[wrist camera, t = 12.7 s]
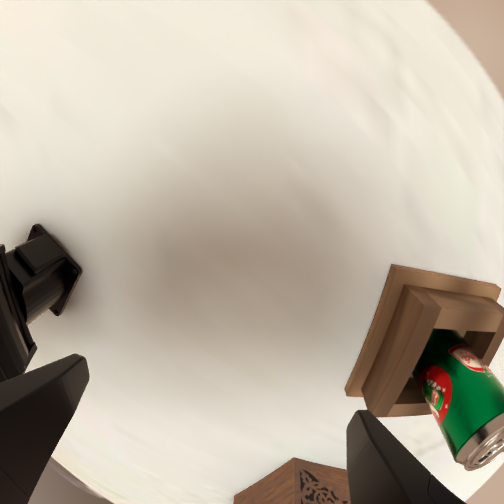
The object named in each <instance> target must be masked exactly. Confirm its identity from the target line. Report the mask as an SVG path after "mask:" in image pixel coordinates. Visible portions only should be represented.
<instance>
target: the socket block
mask: <svg viewBox="0 0 504 504" xmlns="http://www.w3.org/2000/svg"><path fill="white" fill-rule="evenodd" d="M500 291H501V288H500V287H499V286H497V285H496V284H491V283H486V282H481V281H476V280H471V279H466V278H461V277H456V276H451V275H446V274H440V273H435V272H430V271H425V270H420V269H414V268H409V267H404V266H399V265H393V264H392V265H391V268H390V272H389V275H388V278H387V281H386V284H385V288H384V291H383V294H382V297H381V300H380V303H379V305H378V308H377V311H376V314H375V317H374V320H373V322H372V325H371V328H370V330H369V333H368V336H367V338H366V341H365V343H364V346H363V348H362V351H361V353H360V355H359V358H358V360H357V363H356V365H355V367H354V370H353V372H352V374H351V376H350V379H349V381H348V383H347V385H346V387H345V392H346V396H349V397H364V400H365V403H366V406H367V410H369V411H370V412H371V413H372V414H373V415H374V416H375V417H401V416H417V415H429V414H432V412H431V410H430V408H429V406H428V404H427V402H426V400H425V398H424V396H423V394H422V392H421V390H420V388H419V386H418V385H417V383H416V381H415V379H414V377H413V375H412V372H413V370H414V368H415V366H416V364H417V362H418V360H419V358H420V356H421V354H422V352H423V350H424V348H425V346H426V344H427V341H428V339H429V337H430V335H431V333H432V330H433V328H438V329H451V330H456V331H457V332H458V333H459V334H460V335H461V336H462V337H463V339H464V340H465V341H466V342H467V343H468V344H469V345H470V347H471V348H472V349H473V350H474V351H475V352H476V353H477V355H478V356H479V357H480V358H481V359H482V361H483V362H484V363H485V364H486V365H487V367H488V366H489V365H490V363H491V361H492V359H493V357H494V355H495V354H496V352H497V350H498V348H499V346H500V344H501V342H502V340H503V338H504V308H503V307H502V306H501V305H499V304H498V303H497V299H498V297H499V294H500Z"/></svg>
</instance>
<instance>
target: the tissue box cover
mask: <svg viewBox="0 0 504 504" xmlns="http://www.w3.org/2000/svg"><path fill="white" fill-rule="evenodd" d="M233 504H351V503H350V494H349V485H348V476H347V470H345V469H340V468H335V467H330V466H326V465H321V464H317V463H313V462H309V461H305V460H302V459H298V458H292V459H291V460H290V461H288V462H287V463H285V464H284V465H282V466H281V467H280V468H278V469H277V470H275V471H274V472H272V473H271V474H269V475H268V476H266V477H264V478H263V479H261V480H260V481H258V482H257V483H255V484H253V485H252V486H250V487H248V488H247V489H245V490H243V491H242V492H240V493H238V494H236V495H235V496H234V503H233Z"/></svg>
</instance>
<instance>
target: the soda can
mask: <svg viewBox="0 0 504 504" xmlns="http://www.w3.org/2000/svg"><path fill="white" fill-rule="evenodd" d="M412 375H413V377H414V379H415V381H416V383H417V385H418V386H419V388H420V390H421V392H422V394H423V396H424V398H425V400H426V402H427V404H428V406H429V408H430V410H431V412H432V414H433V416H434V418H435V420H436V422H437V424H438V426H439V428H440V430H441V432H442V434H443V436H444V438H445V440H446V443H447V445H448V447H449V449H450V451H451V453H452V456H453V458H454V460H455V462H457V463H459V464H462V465H464V467H465V469H466V470H467V471H472V470H476V469H478V468H481V467H483V466H485V465H486V464H488V463H490V462H491V461H493V460H494V459H496V458H497V457H498V456H499V455H501V454H502V453H503V452H504V387H503V385H502V384H501V383H500V382H499V380H498V379H497V378H496V377H495V375H494V374H493V373H492V372H491V370H490V369H489V368H488V367H487V365H486V364H485V363H484V362H483V361H482V359H481V358H480V357H479V356H478V355H477V353H476V352H475V351H474V350H473V349H472V348H471V347H470V345H469V344H468V343H467V342H466V341H465V340H464V339H463V337H462V336H461V335H460V334H459V333H458V332H457V331H456V330H451V329H438V328H433V330H432V333H431V335H430V337H429V339H428V341H427V344H426V346H425V348H424V350H423V352H422V354H421V356H420V358H419V360H418V362H417V364H416V366H415V368H414V370H413V372H412Z"/></svg>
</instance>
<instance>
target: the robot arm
mask: <svg viewBox="0 0 504 504" xmlns="http://www.w3.org/2000/svg"><path fill="white" fill-rule="evenodd" d="M36 229H37V230H36ZM5 251H6V250H5V246H4V244H0V504H28V502H29V499H30V497H31V495H32V493H33V491H34V488H35V486H36V484H37V482H38V480H39V478H40V476H41V474H42V472H43V470H44V468H45V466H46V465H47V463H48V461H49V459H50V457H51V455H52V453H53V451H54V449H55V447H56V446H57V444H58V442H59V440H60V438H61V436H62V435H63V433H64V431H65V429H66V428H67V426H68V424H69V422H70V420H71V419H72V417H73V415H74V413H75V411H76V409H77V406H78V404H79V402H80V399H81V397H82V395H83V392H84V390H85V388H86V386H87V383H88V381H89V370H88V365H87V361H86V358H85V357H83V356H81V355H78V354H72V355H70V356H67V357H65V358H62V359H60V360H57V361H55V362H52V363H50V364H47V365H45V366H42V367H40V368H37V369H35V370H32V371H30V372H27V373H25V370H26V368H27V366H28V364H29V363H30V361H31V359H32V357H33V355H34V353H35V352H36V350H37V346H36V344H35V342H33V339H32V337H31V334H30V332H29V329H28V327H27V325H28V324H30V323H31V322H32V321H33V320H35V319H36V318H37V317H38V316H40V315H41V314H42V313H43V312H45V311H46V310H47V309H50V310H51V311H52V312H53V313H54V314H55V315H56V316H59V315H61V314H62V312H63V310H64V308H65V306H66V303H67V301H68V299H69V297H70V295H71V293H72V291H73V289H74V287H75V285H76V283H77V281H78V279H79V277H80V275H81V269H80V267H79V266H78V265H77V264H76V263H75V262H74V261H73V260H72V259H71V258H70V257H69V256H68V255H67V254H66V253H65V252H64V251H63V250H62V249H61V248H60V247H59V245H58V244H57V243H56V242H55V241H54V240H53V239H52V238H51V237H50V236H49V235H48V234H47V233H46V231H45V230H44V229H43V228H42V227H41V226H40V225H39V224H35V225H33V226H32V229H31V231H30V234H29V237H28V240H27V242H26V243H23V244H21V245H19V246H17V247H15V249H13V250H11V251H9V252H7V253H5ZM75 270H76V272H77V273H76V272H75ZM346 434H347V476H348V485H349V494H350V503H351V504H466V503H465V502H464V501H462V500H461V499H460V498H458V497H457V496H456V495H454V494H453V493H452V492H451V491H450V490H448V489H447V488H446V487H445V486H444V485H443V484H442V483H441V482H440V481H438V480H437V479H436V478H435V477H434V476H433V475H432V474H431V473H430V472H429V471H428V470H427V469H426V468H425V467H424V466H423V465H422V464H421V463H420V462H419V461H418V460H417V459H416V458H415V457H414V456H413V455H412V454H411V453H410V452H409V451H408V450H407V449H406V448H405V447H404V446H403V445H402V444H401V443H400V442H399V441H398V440H397V439H396V438H395V437H394V436H393V435H392V433H391V432H390V431H389V430H388V429H387V428H386V427H385V426H384V425H383V424H382V423H381V422H380V421H379V420H378V419H377V418H376V417H375V416H374V415H373V414H372V413H371V412H370V411H369V410H357V411H356V412H355V414H354V415H353V417H352V419H351V421H350V422H349V424H348V426H347V431H346Z"/></svg>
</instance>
